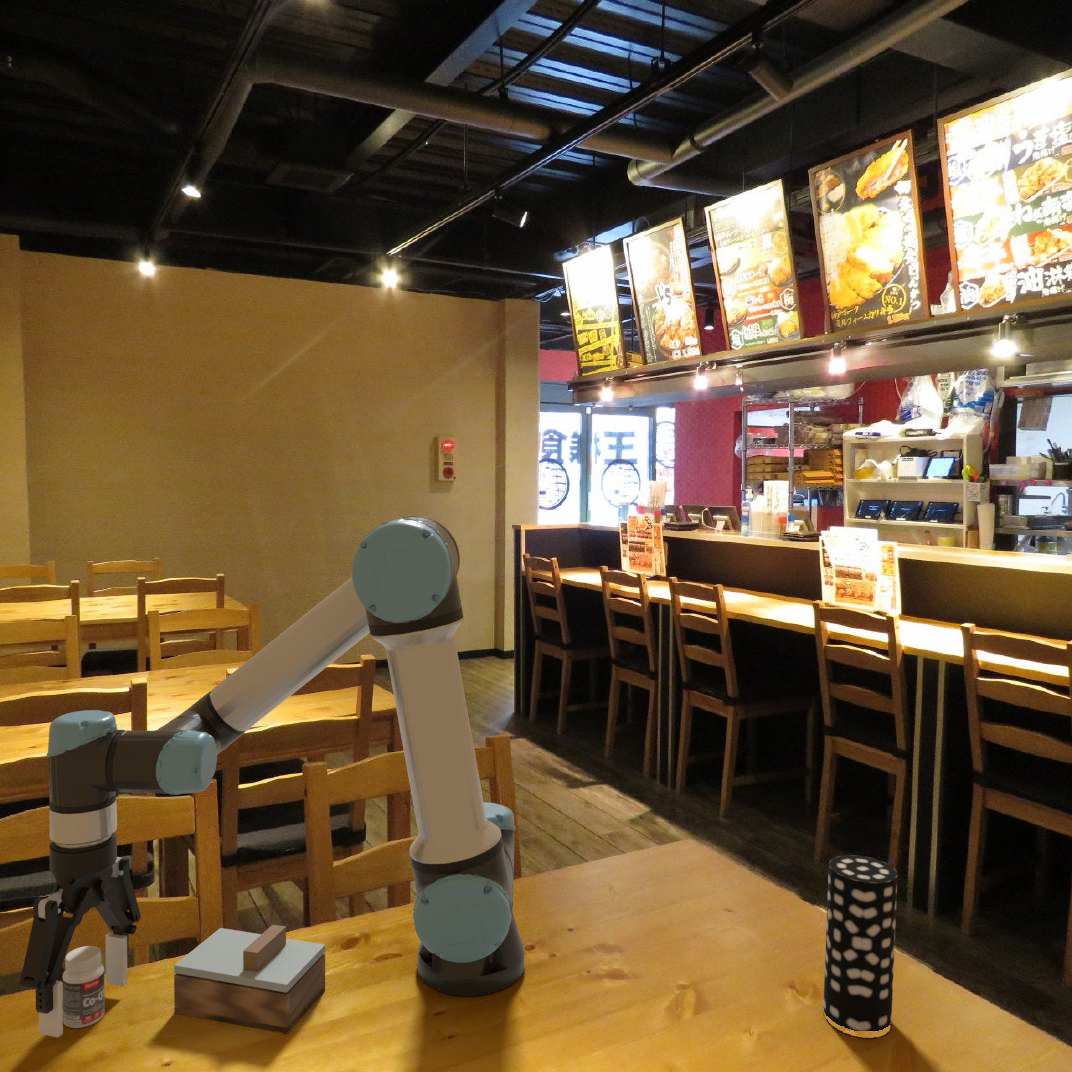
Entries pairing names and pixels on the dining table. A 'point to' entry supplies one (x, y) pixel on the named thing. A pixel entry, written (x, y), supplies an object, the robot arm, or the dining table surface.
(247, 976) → the lid
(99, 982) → the pill bottle
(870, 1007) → the white-spotted black cylinder
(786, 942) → the dining table surface
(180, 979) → the wooden box
